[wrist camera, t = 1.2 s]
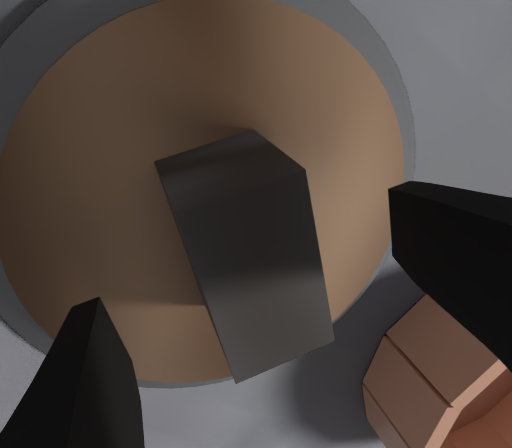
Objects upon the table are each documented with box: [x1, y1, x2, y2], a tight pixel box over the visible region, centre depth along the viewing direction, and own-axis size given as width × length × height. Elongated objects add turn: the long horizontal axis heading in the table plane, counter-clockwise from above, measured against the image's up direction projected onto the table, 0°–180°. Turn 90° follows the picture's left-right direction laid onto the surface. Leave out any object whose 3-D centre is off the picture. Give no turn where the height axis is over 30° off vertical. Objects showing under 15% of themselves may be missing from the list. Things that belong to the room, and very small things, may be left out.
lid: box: [0, 0, 404, 384], centre depth 12 cm, size 12×12×4 cm
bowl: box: [362, 294, 512, 448], centre depth 20 cm, size 10×10×4 cm
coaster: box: [0, 0, 416, 388], centre depth 14 cm, size 14×14×1 cm
